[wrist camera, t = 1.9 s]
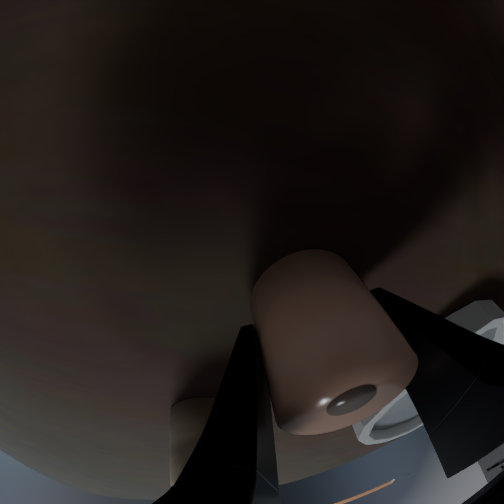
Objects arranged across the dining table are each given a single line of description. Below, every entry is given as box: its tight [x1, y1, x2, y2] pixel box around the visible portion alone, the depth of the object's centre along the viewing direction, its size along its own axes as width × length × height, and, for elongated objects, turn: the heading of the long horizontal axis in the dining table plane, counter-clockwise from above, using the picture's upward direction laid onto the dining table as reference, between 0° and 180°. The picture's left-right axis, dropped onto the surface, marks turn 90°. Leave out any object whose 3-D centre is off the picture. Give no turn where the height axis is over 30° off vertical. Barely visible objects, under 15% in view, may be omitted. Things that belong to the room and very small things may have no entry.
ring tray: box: [352, 300, 504, 445], centre depth 15 cm, size 14×14×2 cm
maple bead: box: [170, 397, 215, 486], centre depth 11 cm, size 4×4×4 cm
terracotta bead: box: [250, 249, 418, 435], centre depth 8 cm, size 4×4×4 cm
